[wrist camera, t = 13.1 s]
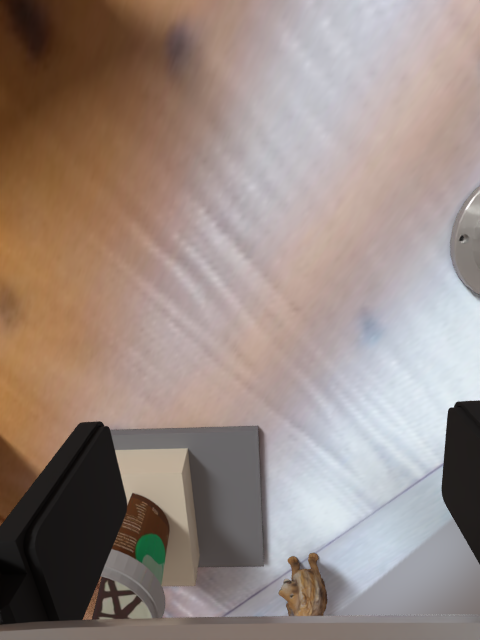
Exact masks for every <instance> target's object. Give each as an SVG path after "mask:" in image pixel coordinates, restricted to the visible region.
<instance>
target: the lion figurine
mask: <svg viewBox="0 0 480 640" xmlns="http://www.w3.org/2000/svg"><path fill="white" fill-rule="evenodd" d="M317 560H318V555H317V554H315V553H310V554H309V559H308V562H309V564H310V567H311V569H301V570H299V569H300V565H299V562H298V560H297V558H296V557H294V556H292V557H290V558H289V559H288V563H289V564H290V565H291V568H292V581H290V580H289V579H285V580H284V584H283V586H282V587H281V590H280V591H279V595H280V596H282V597H283V598H284V599H285V600H287V601H288V603H287V604H286V607H287V610H288V614H289V616H323V613H324V611H325V609H326V604H327V593H326V589H325V584H324V581H323V579H322V578H321V575H320V573H319V569H318V567H317V563H316V562H317Z"/></svg>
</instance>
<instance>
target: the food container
mask: <svg viewBox="0 0 480 640" xmlns="http://www.w3.org/2000/svg"><path fill="white" fill-rule="evenodd" d="M169 532H170V527H169V522H168V519H167V517H166V515H165V514H164V512H163V511H162V509H161V508H160V507H159V506H158V505H156V504H155V503H154V502H153V501H151V500H149V499H148V498H146V497H143V496H141V495H138V494H135V493H132V495H131V497H130V500H129V502H128V505H127V512H126V515H125V518H124V520H123V523H122V525H121V528H120V530H119V532H118V535H117V537H116V540H115V542H114V544H113V547H112V549H111V552H110V554H109V557H108V559H107V561H106V564H105V566H104V569H103V571H102V574H101V576H102V579H101V584H100V588H99V592H98V596H97V601H96V605H95V609H94V613H93V617H92V620H97V619H143V618H162V616H163V614H164V610H165V595H164V591H163V588H162V586H161V584H162V578H163V571H164V565H165V558H166V552H167V545H168V539H169Z"/></svg>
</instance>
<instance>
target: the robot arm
mask: <svg viewBox="0 0 480 640" xmlns="http://www.w3.org/2000/svg"><path fill="white" fill-rule="evenodd" d="M461 236H462V238H461V240H460V241H459V239H460V237H461ZM450 252H451V258H452V262H453V266H454V268H455V270H456V272H457V275H458V276H459V278H460V279H461V280H462V281H463V283H464V284H465V285H466V286H467V287H468V288H470V289H471V290H472V291H474V292H475V293H477V294H479V295H480V186H479V187H478V188H476V189H475V190H474V191H473V193H472V194H471V195H470V196H469V198H468V199H467V200H466V201H465V203H464V204H463V206H462V208H461V210H460V211H459V213H458V215H457V217H456V220H455V223H454V226H453V228H452V234H451V240H450ZM442 496H443V500H444V502H445V504H446V506H447V508H448V510H449V511H450V513H451V515H452V517H453V518H454V520H455V522H456V524H457V525H458V527H459V529H460V531H461V532H462V534H463V536H464V538H465V539H466V541H467V543H468V545H469V546H470V548H471V550H472V552H473V553H474V555H475V557H476V559H477V560H478V562H479V564H480V401H462V402H457V403H456V404H455V406H454V408H449V410H448V417H447V429H446V441H445V453H444V465H443V478H442ZM126 512H127V499H126V495H125V490H124V486H123V482H122V478H121V473H120V469H119V465H118V461H117V457H116V452H115V448H114V444H113V440H112V436H111V431H110V429H109V427H107V426H104V424H103V423H102V422H82V423H80V424H79V425H78V426H77V427H76V428H75V430H74V431H73V432H72V433H71V435H70V436H69V437H68V439H67V440H66V441H65V443H64V444H63V445H62V446H61V448H60V449H59V450H58V452H57V453H56V454H55V456H54V457H53V458H52V460H51V461H50V462H49V463H48V465H47V466H46V467H45V469H44V470H43V471H42V473H41V474H40V475H39V476H38V478H37V479H36V480H35V482H34V483H33V484H32V486H31V487H30V488H29V490H28V491H27V492H26V493H25V495H24V496H23V497H22V499H21V500H20V501H19V503H18V504H17V505H16V506H15V508H14V509H13V510H12V512H11V513H10V514H9V516H8V517H7V518H6V520H5V521H4V522H3V523H2V525H1V526H0V640H480V615H358V616H357V615H353V616H352V615H351V616H350V615H347V616H263V617H196V618H143V619H97V620H82V619H83V617H84V615H85V612H86V610H87V607H88V605H89V603H90V600H91V598H92V595H93V593H94V590H95V588H96V586H97V583H98V581H99V578H100V576H101V574H102V571H103V569H104V566H105V564H106V561H107V559H108V557H109V554H110V552H111V549H112V547H113V544H114V542H115V540H116V537H117V535H118V532H119V530H120V528H121V525H122V523H123V520H124V518H125V515H126Z"/></svg>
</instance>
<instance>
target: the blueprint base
mask: <svg viewBox="0 0 480 640" xmlns="http://www.w3.org/2000/svg"><path fill="white" fill-rule="evenodd" d="M110 431H111V436H112V440H113V444H114V448H115V452H116V457H117V461H118V465H119V469H120V473H121V478H122V482H123V486H124V490H125V495H126V499H127V505H128V502H129V500H130V497H131V495H132V493H135V494H138V495H141V496H143V497H146V498H148V499H149V500H151V501H153V502H154V503H155V504H156V505H158V506H159V507H160V508H161V509H162V511H163V512H164V514H165V515H166V517H167V519H168V522H169V527H170V532H169V539H168V545H167V552H166V558H165V565H164V571H163V578H162V584H161V586H195V584H196V577H197V570H198V567H255V566H264V558H263V534H262V510H261V486H260V462H259V438H258V426H238V427H201V428H165V429H128V430H110Z"/></svg>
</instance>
